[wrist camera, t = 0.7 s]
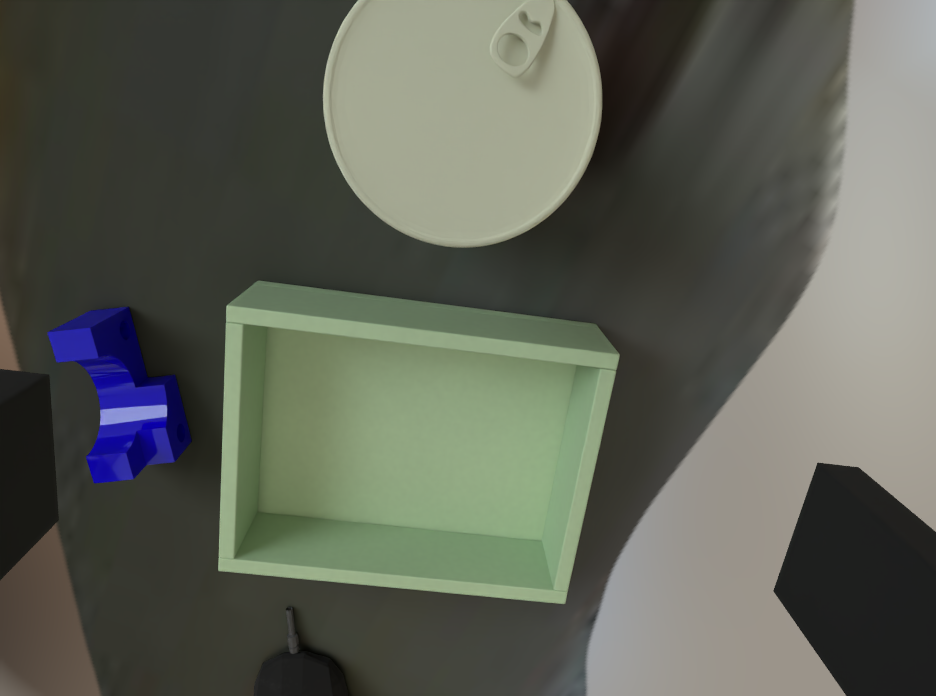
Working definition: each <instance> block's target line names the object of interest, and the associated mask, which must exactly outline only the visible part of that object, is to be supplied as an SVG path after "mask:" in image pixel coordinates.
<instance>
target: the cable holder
mask: <svg viewBox="0 0 936 696" xmlns="http://www.w3.org/2000/svg"><path fill="white" fill-rule="evenodd" d="M48 335H49V339H50V342H51V345H52V348H53V352H54V355H55V358H56V361H57V362H66V361H75V362H77V363H79V364H80V365H82V366H83V367H84V368H85V369H86V370H87V372H88V373H89V374H90V376H91V378H92V380H93V382H94V384H95V386H96V389H97V392H98V396H99V401H100V411H101V420H100V429H99V433H98V437H97V440H96V443H95V445H94V447H93V449H92V450H91V452H90V453H89V454H88V455H87V456H86V458H87V462H88V465H89V468H90V471H91V475H92V478H93V481H94V483H102V482H112V481H121V480H131V479H134V478H135V477H136V476H137V475H138V474H139V473H140V471H141V470H142V469H143V468H144V467H145V466H146V465H152V464H161V463H171V462H175V461H176V460H177V459H178V457H179V456H180V455H181V454H182V453H183V451H184V450H185V449H186V448H187V446H188V445H189V444H190V443H191V442H192V440H191V436H190V432H189V428H188V424H187V420H186V416H185V412H184V408H183V404H182V400H181V396H180V392H179V388H178V384H177V380H176V376H175V375H169V376H159V377H150V378H148V377H147V373H146V369H145V366H144V362H143V358H142V354H141V351H140V347H139V343H138V339H137V336H136V332H135V328H134V324H133V321H132V317H131V313H130V309H129V307H121V308H112V309H102V310H93V311H89V312H87V313H85V314H83V315H81V316H79V317H77V318H75V319H73V320H71V321H69V322H67V323H65V324H63V325H61V326H59V327H57V328H55V329H53V330H51V331H49V332H48Z"/></svg>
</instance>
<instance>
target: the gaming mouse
mask: <svg viewBox="0 0 936 696" xmlns="http://www.w3.org/2000/svg"><path fill="white" fill-rule="evenodd" d="M286 613H287V621H288V629H289V634H288V635H287V637H288V645H289V650H290V652H286V653H283V654H281V655H279V656H276V657H274V658H272V659H270V660H268V661H266V662H264V663H263V665H262V667H261V669H260V672H259V674H258V676H257V679H256V681H255V686H254V696H349V695H348V691H347V687H346V683H345V679H344V675H343V674H342V672H341V671H340V670H339V669H338V668H337V666H336V665H335V664H334V663H333V661H332V660H331V659H330V658H327V657H324V656H321V655H317V654H314V653H310V652H307V651H301V652H298V651H299V646H298V643H299V641H298V634H297V632H295V625H294V617H293V609H292V607H289V608H287V609H286Z"/></svg>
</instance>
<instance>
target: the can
mask: <svg viewBox="0 0 936 696" xmlns="http://www.w3.org/2000/svg"><path fill="white" fill-rule="evenodd" d="M323 108H324V118H325V125H326V130H327V135H328V139H329V143H330V146H331V149H332V152H333V154H334V157H335V159H336V162H337V164H338V166H339V168H340V170H341V172H342V174H343V176H344V177H345V179H346V181H347V182H348V184H349V185H350V187H351V188H352V190H353V191H354V192H355V194H356V195H357V196H358V197H359V199H360V200H361V201H362V202H363V203H364V204H365V205H366V206H367V207H368V208H369V209H370V210H371V211H372V212H373V213H374V214H375V215H377V216H378V217H379V218H380V219H382V220H383V221H384V222H386V223H387V224H389V225H390V226H392V227H393V228H395V229H397V230H398V231H400V232H402V233H404V234H406V235H408V236H410V237H413V238H416V239H418V240H421V241H424V242H428V243H431V244H435V245H440V246H447V247H464V248H465V247H480V246H486V245H491V244H495V243H499V242H502V241H505V240H508V239H511V238H513V237H516V236H518V235H520V234H522V233H524V232H526V231H528V230H530V229H531V228H533V227H535V226H536V225H538V224H539V223H540V222H542V221H543V220H545V219H546V218H547V217H548V216H550V215H551V214H552V213H553V212H554V211H555V210H556V209H557V208H558V207H559V206H560V205H561V204H562V203H563V202H564V201H565V200H566V199H567V198H568V196H569V195H570V194H571V192H572V191H573V190H574V188H575V187H576V185H577V184H578V182H579V180H580V179H581V177H582V175H583V174H584V172H585V170H586V168H587V166H588V163H589V161H590V159H591V157H592V154H593V151H594V148H595V145H596V142H597V138H598V133H599V128H600V122H601V115H602V84H601V77H600V70H599V65H598V61H597V57H596V54H595V51H594V47H593V45H592V42H591V40H590V37H589V35H588V33H587V31H586V29H585V27H584V25H583V23H582V22H581V20H580V18H579V17H578V15H577V13H576V12H575V10H574V9H573V7H572V6H571V5H570V4H569V3H568V1H567V0H358V1H357V2H356V4H355V5H354V6H353V8H352V9H351V10H350V12H349V13H348V15H347V16H346V18H345V20H344V21H343V23H342V25H341V27H340V29H339V31H338V33H337V35H336V37H335V40H334V42H333V45H332V48H331V51H330V55H329V58H328V62H327V66H326V72H325V79H324V90H323Z"/></svg>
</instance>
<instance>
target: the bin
mask: <svg viewBox="0 0 936 696" xmlns="http://www.w3.org/2000/svg"><path fill="white" fill-rule="evenodd" d="M226 321H227V323H226V342H225V374H224V406H223V438H222V471H221V503H220V535H219V565H218V570H219V571H226V572H236V573H246V574H257V575H267V576H278V577H288V578H298V579H309V580H319V581H330V582H340V583H351V584H361V585H371V586H382V587H392V588H403V589H413V590H424V591H434V592H444V593H455V594H465V595H476V596H486V597H497V598H507V599H517V600H528V601H538V602H549V603H559V604H565V601H566V597H567V591H568V588H569V583H570V578H571V574H572V569H573V565H574V560H575V556H576V551H577V547H578V542H579V538H580V533H581V529H582V524H583V520H584V515H585V511H586V506H587V501H588V497H589V492H590V488H591V483H592V479H593V474H594V470H595V465H596V461H597V456H598V452H599V447H600V443H601V438H602V434H603V429H604V424H605V420H606V415H607V411H608V406H609V402H610V397H611V393H612V388H613V384H614V379H615V375H616V369H617V366H618V361H619V357H620V354H619V353H618V352H617V351H616V349H615V348H614V347H613V346H612V344H611V343H610V342H609V340H608V339H607V338H606V337H605V335H604V334H603V333H602V332H601V330H600V329H599V327H598V326H597V325H596V324H593V323H585V322H578V321H570V320H562V319H554V318H546V317H539V316H531V315H523V314H515V313H507V312H500V311H492V310H484V309H476V308H468V307H461V306H453V305H445V304H437V303H429V302H422V301H414V300H406V299H398V298H390V297H383V296H375V295H367V294H359V293H351V292H344V291H336V290H328V289H320V288H312V287H305V286H297V285H289V284H281V283H273V282H266V281H257V282H256V283H254V285H252V286H251V287H250V288H248V289H247V290H246V291H245V292H243V293H242V294H241V295H240V296H238V297H237V298H236V299H235V300H233V301H232V302H231V303H229V304H228V305H227V308H226Z"/></svg>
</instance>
